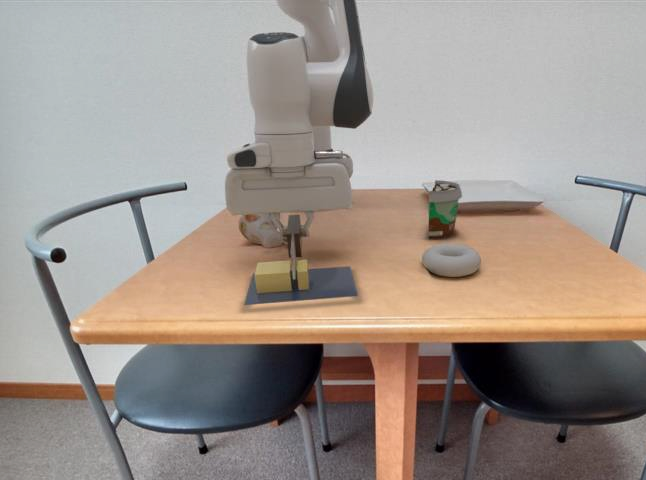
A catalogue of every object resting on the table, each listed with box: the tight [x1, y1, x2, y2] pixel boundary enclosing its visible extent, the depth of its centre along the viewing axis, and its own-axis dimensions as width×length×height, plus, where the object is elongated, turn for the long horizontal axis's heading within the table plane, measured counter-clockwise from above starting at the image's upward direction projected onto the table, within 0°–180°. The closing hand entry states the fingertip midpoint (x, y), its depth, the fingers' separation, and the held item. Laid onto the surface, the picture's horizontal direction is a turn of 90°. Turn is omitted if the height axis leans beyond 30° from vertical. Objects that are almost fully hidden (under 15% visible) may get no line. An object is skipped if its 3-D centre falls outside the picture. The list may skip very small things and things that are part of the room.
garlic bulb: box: [238, 213, 288, 249], centre depth 85 cm, size 8×10×10 cm
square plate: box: [421, 179, 546, 214], centre depth 116 cm, size 27×27×4 cm
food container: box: [427, 179, 462, 240], centre depth 90 cm, size 12×6×10 cm, turn 168°
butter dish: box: [243, 259, 359, 306], centre depth 66 cm, size 12×16×4 cm
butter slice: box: [296, 258, 309, 290], centre depth 66 cm, size 5×2×3 cm, turn 10°
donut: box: [421, 243, 482, 278], centre depth 73 cm, size 10×4×10 cm
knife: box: [286, 214, 303, 279], centre depth 69 cm, size 21×2×4 cm, turn 10°
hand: (294, 237), depth 74 cm, fingers closed on knife, 2 cm apart
